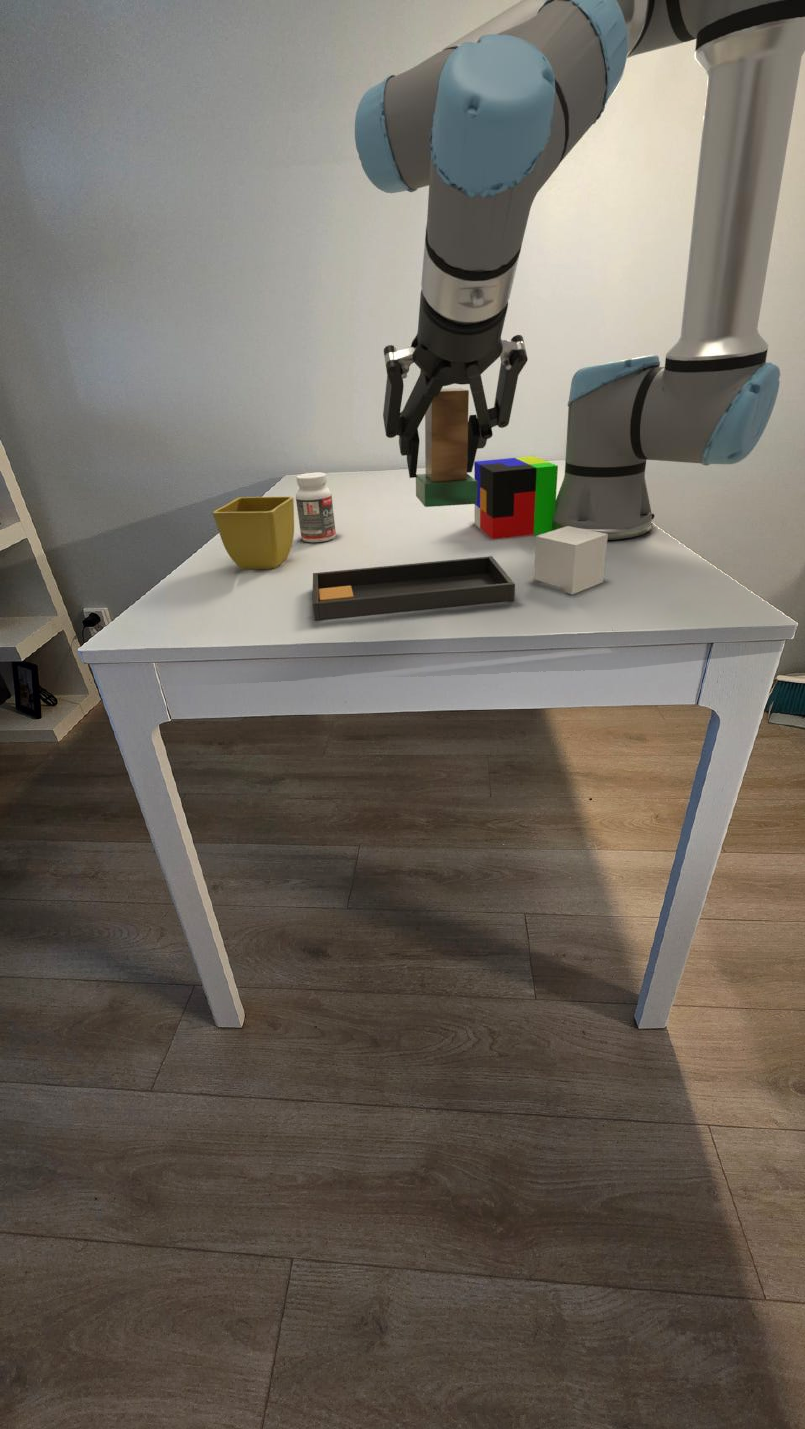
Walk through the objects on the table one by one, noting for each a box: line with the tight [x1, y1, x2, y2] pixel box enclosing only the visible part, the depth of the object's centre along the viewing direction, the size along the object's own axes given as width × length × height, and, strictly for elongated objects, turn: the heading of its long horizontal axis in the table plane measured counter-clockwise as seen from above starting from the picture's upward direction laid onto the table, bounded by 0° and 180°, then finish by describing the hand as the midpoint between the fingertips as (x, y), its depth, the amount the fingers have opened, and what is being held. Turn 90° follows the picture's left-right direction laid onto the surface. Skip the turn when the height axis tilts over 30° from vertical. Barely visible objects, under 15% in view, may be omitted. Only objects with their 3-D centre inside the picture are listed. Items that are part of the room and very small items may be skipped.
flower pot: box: [212, 496, 295, 570], centre depth 92 cm, size 9×9×9 cm
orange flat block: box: [319, 586, 354, 602], centre depth 77 cm, size 4×4×1 cm
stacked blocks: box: [415, 387, 477, 508], centre depth 72 cm, size 6×6×12 cm
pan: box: [312, 555, 516, 622], centre depth 78 cm, size 23×11×3 cm, turn 97°
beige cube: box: [533, 526, 608, 596], centre depth 79 cm, size 6×6×6 cm
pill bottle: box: [295, 471, 337, 543], centre depth 103 cm, size 6×6×10 cm
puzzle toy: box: [473, 455, 559, 540], centre depth 102 cm, size 10×10×10 cm
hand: (439, 465), depth 76 cm, fingers closed on stacked blocks, 6 cm apart
